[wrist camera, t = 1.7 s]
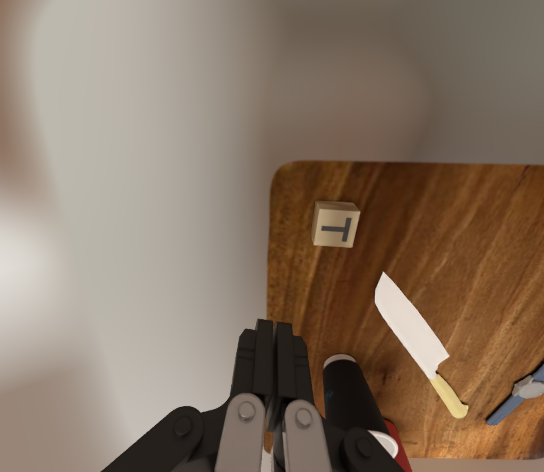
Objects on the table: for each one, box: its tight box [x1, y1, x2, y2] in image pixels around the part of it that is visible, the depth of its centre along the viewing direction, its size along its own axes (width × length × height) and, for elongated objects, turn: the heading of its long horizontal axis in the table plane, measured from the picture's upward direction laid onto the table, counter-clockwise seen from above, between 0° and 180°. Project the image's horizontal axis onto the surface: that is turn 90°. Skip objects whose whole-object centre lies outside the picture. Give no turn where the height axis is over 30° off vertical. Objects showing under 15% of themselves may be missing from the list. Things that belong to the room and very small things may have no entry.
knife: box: [375, 272, 468, 418], centre depth 37 cm, size 1×34×5 cm
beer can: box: [384, 420, 412, 472], centre depth 41 cm, size 7×7×12 cm
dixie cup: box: [323, 354, 398, 458], centre depth 34 cm, size 8×8×11 cm
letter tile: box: [311, 200, 360, 248], centre depth 27 cm, size 4×4×3 cm
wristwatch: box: [486, 364, 544, 425], centre depth 40 cm, size 4×20×1 cm, turn 168°
